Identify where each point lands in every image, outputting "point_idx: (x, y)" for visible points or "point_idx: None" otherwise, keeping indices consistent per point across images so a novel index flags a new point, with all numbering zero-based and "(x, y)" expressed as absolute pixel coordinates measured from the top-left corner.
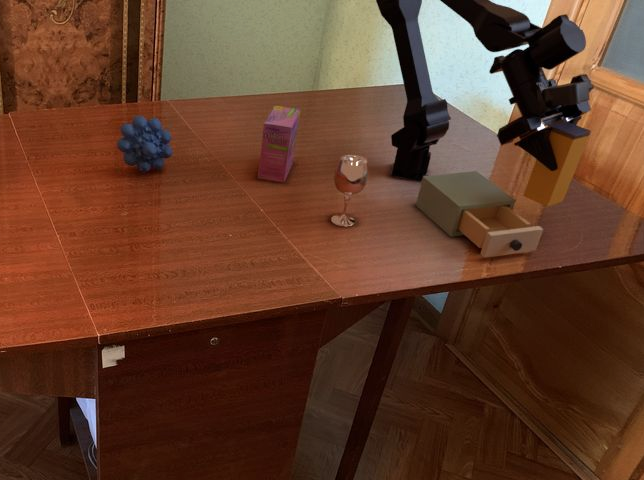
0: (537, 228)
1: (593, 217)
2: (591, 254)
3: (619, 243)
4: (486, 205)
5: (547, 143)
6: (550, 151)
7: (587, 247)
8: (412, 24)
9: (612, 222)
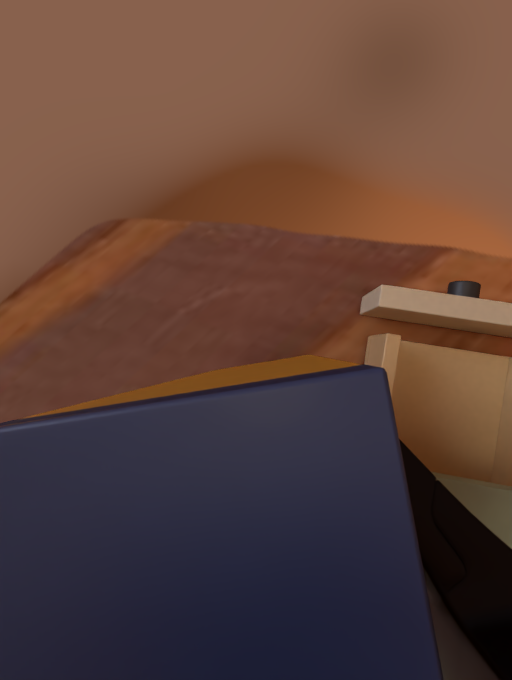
0: (398, 294)
1: (52, 391)
2: (214, 249)
3: (104, 264)
4: (465, 479)
5: (482, 550)
6: (418, 474)
7: (196, 279)
8: None
9: (30, 351)
